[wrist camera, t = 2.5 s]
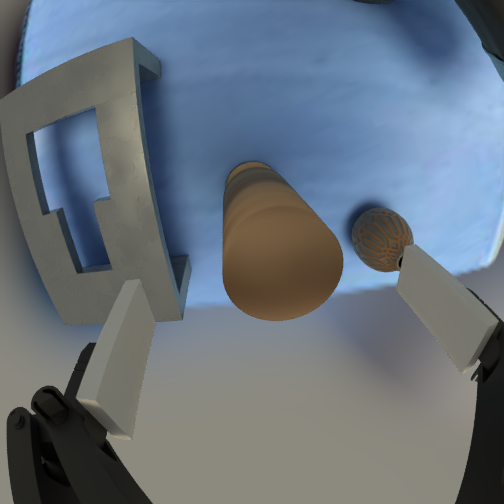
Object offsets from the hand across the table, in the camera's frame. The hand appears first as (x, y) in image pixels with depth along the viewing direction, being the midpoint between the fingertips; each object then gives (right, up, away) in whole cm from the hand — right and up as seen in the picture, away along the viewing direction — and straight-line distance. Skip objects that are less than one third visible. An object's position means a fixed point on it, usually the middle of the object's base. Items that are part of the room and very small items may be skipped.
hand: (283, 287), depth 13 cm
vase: (+13, +5, +19) cm, 24 cm away
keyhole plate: (-17, +9, +13) cm, 23 cm away
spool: (-1, +8, +16) cm, 18 cm away
